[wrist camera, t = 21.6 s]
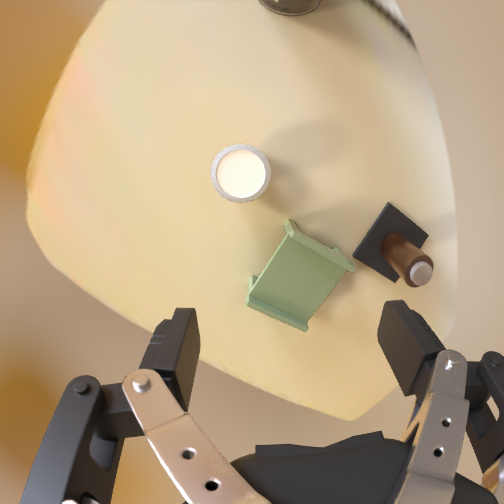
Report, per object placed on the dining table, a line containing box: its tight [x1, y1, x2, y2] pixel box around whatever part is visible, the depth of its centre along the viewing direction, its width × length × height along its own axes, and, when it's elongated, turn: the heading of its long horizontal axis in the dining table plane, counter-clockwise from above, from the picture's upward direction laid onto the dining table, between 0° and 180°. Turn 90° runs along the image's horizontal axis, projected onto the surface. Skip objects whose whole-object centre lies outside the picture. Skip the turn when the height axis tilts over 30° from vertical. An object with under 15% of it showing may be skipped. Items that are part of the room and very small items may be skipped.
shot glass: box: [210, 144, 271, 203], centre depth 35 cm, size 7×7×7 cm
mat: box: [353, 203, 429, 283], centre depth 42 cm, size 10×10×1 cm
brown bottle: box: [380, 232, 433, 287], centre depth 37 cm, size 5×5×10 cm
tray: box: [246, 219, 356, 332], centre depth 41 cm, size 12×10×7 cm
